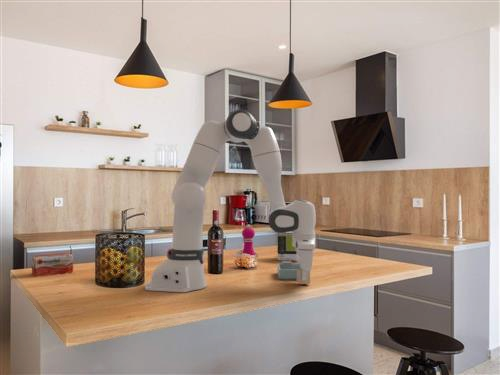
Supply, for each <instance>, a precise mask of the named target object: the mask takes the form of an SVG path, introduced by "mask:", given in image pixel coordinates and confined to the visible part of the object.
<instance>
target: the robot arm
mask: <svg viewBox="0 0 500 375" xmlns="http://www.w3.org/2000/svg"><path fill="white" fill-rule="evenodd" d="M242 143H245V144H247V146H248V147H249V149H250V153H251V158H252V163H253V166H254V169H255V170H256V171H255V172H256V174H257V175H258V177H259V179H260V180H261V181H262V183H263V185H264V187H265V190H266V194H267V198H268V203H269V214H268V225H269V227H270V229H272V231H274V232H275V233H286V232H290V231H292V246H293V247H295V248H296V249H295V250H296V251H297V253H296V261H295V262H296V264H298V265H299V268H300V269H301V270H302V280H307V272H308V271H310V272H311V271H312V268H313V261H314V260H313V259H314V250H316V229H315V228H316V223H317V219H316V218H317V214H316V208H315V204H314V203H313V202H311V201H309V200H303V199H294V200H293V201H292V202H290V203H288V204H286V202H285V197H284V193H283V188H282V183H281V182H282V181H281V180H282V173H283V163H282V155H281V150H280V147H279V144H278V140H277V137H276V134H275V133H274V131H273V129H272V128H271V127H269V126H265V125H261V126H260V123H259V122H258V121H257V120H256V119H255V117H254V116H253V115H252V113H250V112H249V111H248V110H245V109H237V110H234V111H231V112H230V114H228V116H227V118H226V119H225V120H224V121H223V122H220V121H216V120H207V121H204V123H203V124H202V126H201V127H200V129H199V130H198V132H197V134H196V136H195V138H194V141H193V143H192V145H191V148H190V150H189V153H188V155H187V158H186V160H185V163H184V164H183V167H182V169H181V171H180V173H179V176H178V178H177V180H176V183H175V185H174V187H173V190H172V192H171V201H172V203H173V205H174V211H173V223H172V224H173V225H172V247H170V248H169V249H168V250H167V251H166V256H167V259H166V260H164V261H163V262H161V263H160V264H159V265H158V266H157V267H156V268H154V270H153V271H152V275H151V278H150V281H148V282H146V283H145V285H144V290H145V291H153V292H169V293H170V292H171V293H187V292H191V291H197V290H201V289H205V288H206V287H207V286H208V284H207V281H206V277H205V271H204V262H205V251H204V249H205V248H203V242H204V241H203V240H204V239H203V237H204V236H203V232H204V230H203V229H204V228H203V227H204V218H205V210H206V198H207V197H206V195H207V194H206V191H205V189H206V187H207V185H208V183H209V181H210V179H211V177H213V176H212V175H213V174H214V172H215V169H216V166H217V164H218V161H219V158H220V157H221V154H222V151H223V149H224V146H225V145H226V144H234V145H239V144H242Z"/></svg>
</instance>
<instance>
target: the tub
mask: <svg viewBox="0 0 500 375" xmlns="http://www.w3.org/2000/svg"><path fill="white" fill-rule="evenodd" d="M281 268H282V263H277V276H278V280H285V281H286V280H287V281H288V280H290V281H292V280H294V281H295V280H296V279H297V269H300V268H299V265H298V263H292V269H281Z"/></svg>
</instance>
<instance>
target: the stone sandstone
mask: <svg viewBox="0 0 500 375" xmlns="http://www.w3.org/2000/svg"><path fill="white" fill-rule="evenodd" d="M296 283H297V284H299V285H305V284H306V285H310V284H311V270H310V271H308V272H307V280H302V270H301V269H297V279H296Z"/></svg>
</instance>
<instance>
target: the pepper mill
mask: <svg viewBox="0 0 500 375" xmlns="http://www.w3.org/2000/svg"><path fill="white" fill-rule="evenodd" d="M255 234H256V233H255V230H254V229H253V228H252V227H251V225H250V224H247V225H246V227H245V228H244V229H242V232H241V235H242V237H243V238H242V239H243V240H242V242H243V250H242V251H241V253H242V252H243V253H247V254H250V255H256V252H255V250H254V247H253V243H254V237H255Z"/></svg>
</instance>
